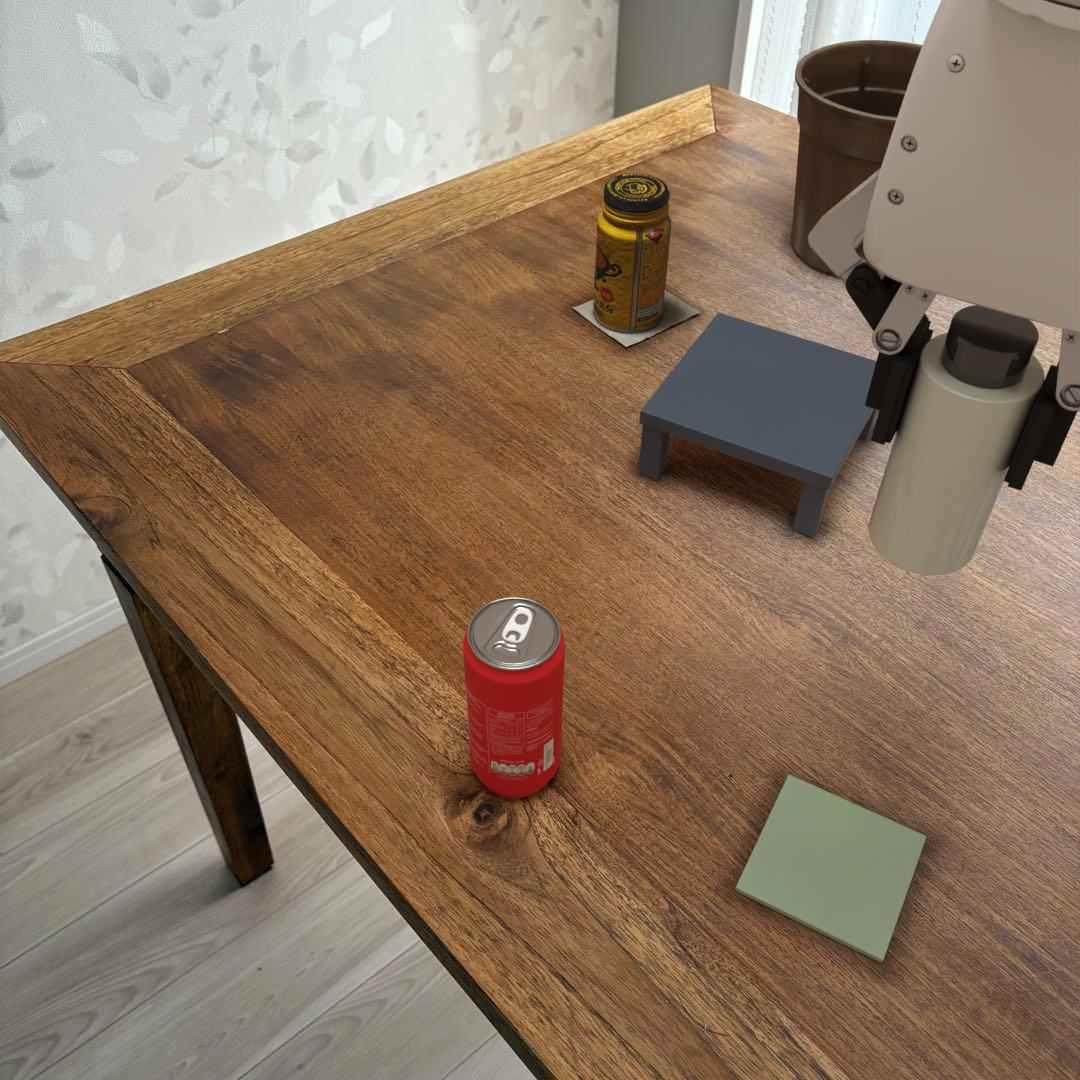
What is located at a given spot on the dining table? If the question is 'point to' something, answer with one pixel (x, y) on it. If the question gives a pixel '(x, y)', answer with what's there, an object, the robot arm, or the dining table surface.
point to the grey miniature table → (764, 407)
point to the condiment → (633, 262)
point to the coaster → (833, 867)
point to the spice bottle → (956, 440)
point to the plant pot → (844, 124)
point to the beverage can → (514, 695)
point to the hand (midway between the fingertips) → (955, 441)
